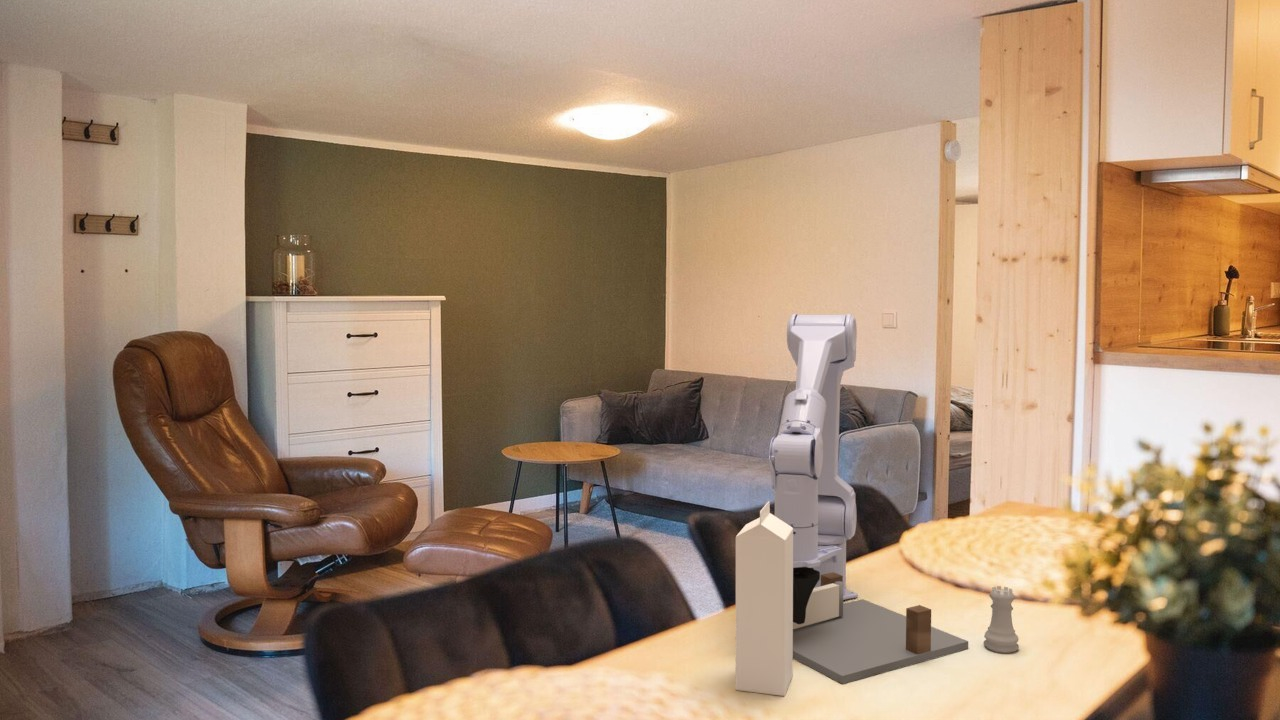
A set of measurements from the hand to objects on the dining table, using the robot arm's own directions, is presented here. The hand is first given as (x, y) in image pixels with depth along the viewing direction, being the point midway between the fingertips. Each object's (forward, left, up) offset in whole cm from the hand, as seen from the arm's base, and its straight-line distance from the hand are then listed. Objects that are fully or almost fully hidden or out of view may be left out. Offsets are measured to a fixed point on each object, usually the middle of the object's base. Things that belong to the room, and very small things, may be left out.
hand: (796, 621), depth 128 cm
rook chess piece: (+15, +23, -3) cm, 27 cm away
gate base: (+3, +8, -3) cm, 9 cm away
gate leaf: (-3, +4, -2) cm, 5 cm away
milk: (+8, -11, -3) cm, 14 cm away
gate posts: (+3, +11, -2) cm, 11 cm away
